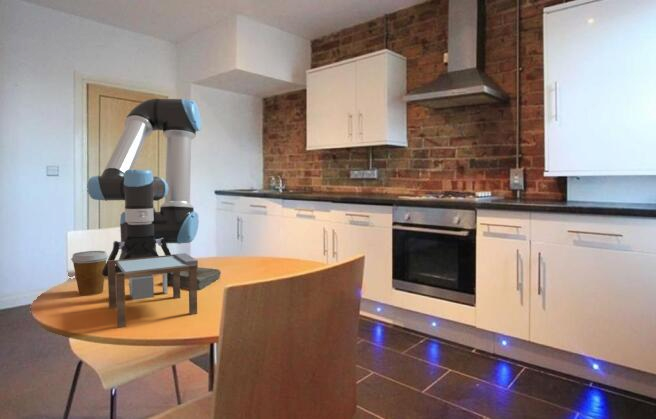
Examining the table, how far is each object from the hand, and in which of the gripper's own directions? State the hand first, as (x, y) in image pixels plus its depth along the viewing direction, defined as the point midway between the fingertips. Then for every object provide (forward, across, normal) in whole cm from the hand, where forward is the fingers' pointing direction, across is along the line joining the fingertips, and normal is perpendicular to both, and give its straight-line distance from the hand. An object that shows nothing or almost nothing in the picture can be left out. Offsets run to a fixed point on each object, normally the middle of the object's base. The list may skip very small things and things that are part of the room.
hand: (141, 295), depth 118 cm
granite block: (0, 0, 0) cm, 0 cm away
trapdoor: (-11, +2, -15) cm, 18 cm away
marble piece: (+1, +17, +8) cm, 19 cm away
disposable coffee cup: (0, -12, +12) cm, 17 cm away
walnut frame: (0, 0, -15) cm, 15 cm away
